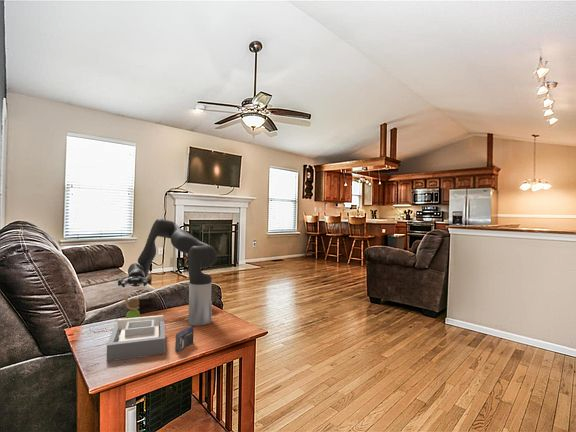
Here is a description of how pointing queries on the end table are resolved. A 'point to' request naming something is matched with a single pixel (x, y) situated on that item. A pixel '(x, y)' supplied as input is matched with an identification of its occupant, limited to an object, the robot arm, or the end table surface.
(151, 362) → the end table surface
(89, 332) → the end table surface
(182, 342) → the mini dv tape
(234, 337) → the end table surface
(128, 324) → the tray
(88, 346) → the end table surface
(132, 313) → the snail figurine
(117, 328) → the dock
